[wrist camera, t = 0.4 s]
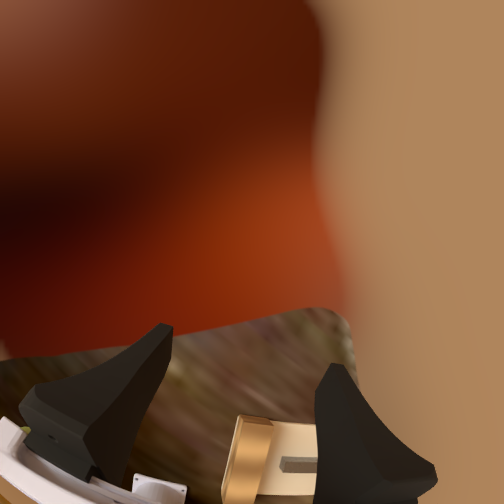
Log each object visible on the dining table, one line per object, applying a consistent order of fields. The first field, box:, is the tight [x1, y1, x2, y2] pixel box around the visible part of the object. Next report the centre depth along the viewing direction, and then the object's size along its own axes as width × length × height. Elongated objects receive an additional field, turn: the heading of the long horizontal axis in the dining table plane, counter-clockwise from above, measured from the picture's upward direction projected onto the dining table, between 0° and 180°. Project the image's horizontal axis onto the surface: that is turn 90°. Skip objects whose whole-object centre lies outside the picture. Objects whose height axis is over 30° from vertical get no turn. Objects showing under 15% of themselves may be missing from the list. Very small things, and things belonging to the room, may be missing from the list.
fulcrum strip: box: [279, 456, 318, 473], centre depth 34 cm, size 2×7×2 cm, turn 79°
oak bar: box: [221, 414, 274, 504], centre depth 32 cm, size 14×4×4 cm, turn 168°
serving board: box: [221, 416, 318, 495], centre depth 35 cm, size 13×16×1 cm
